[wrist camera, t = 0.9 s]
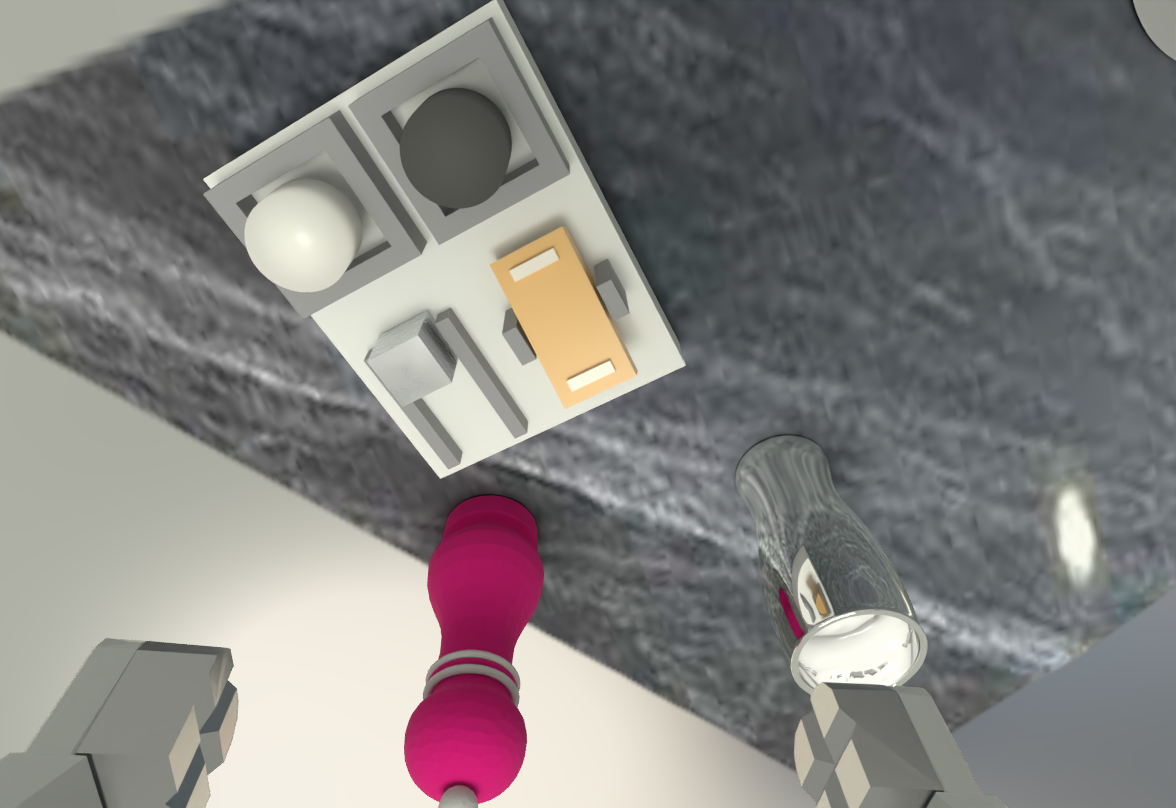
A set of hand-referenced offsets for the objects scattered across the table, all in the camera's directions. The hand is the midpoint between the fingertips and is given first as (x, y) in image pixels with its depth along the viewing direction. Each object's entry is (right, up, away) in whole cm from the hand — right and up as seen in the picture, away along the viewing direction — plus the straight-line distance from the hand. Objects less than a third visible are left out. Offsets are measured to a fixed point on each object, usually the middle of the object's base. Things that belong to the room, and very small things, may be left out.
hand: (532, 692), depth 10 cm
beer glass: (+13, 0, +38) cm, 41 cm away
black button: (-5, +16, +22) cm, 27 cm away
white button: (-12, +12, +24) cm, 29 cm away
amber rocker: (0, +8, +26) cm, 28 cm away
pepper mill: (-6, -4, +40) cm, 41 cm away
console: (-6, +12, +30) cm, 33 cm away
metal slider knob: (-8, +7, +29) cm, 31 cm away
